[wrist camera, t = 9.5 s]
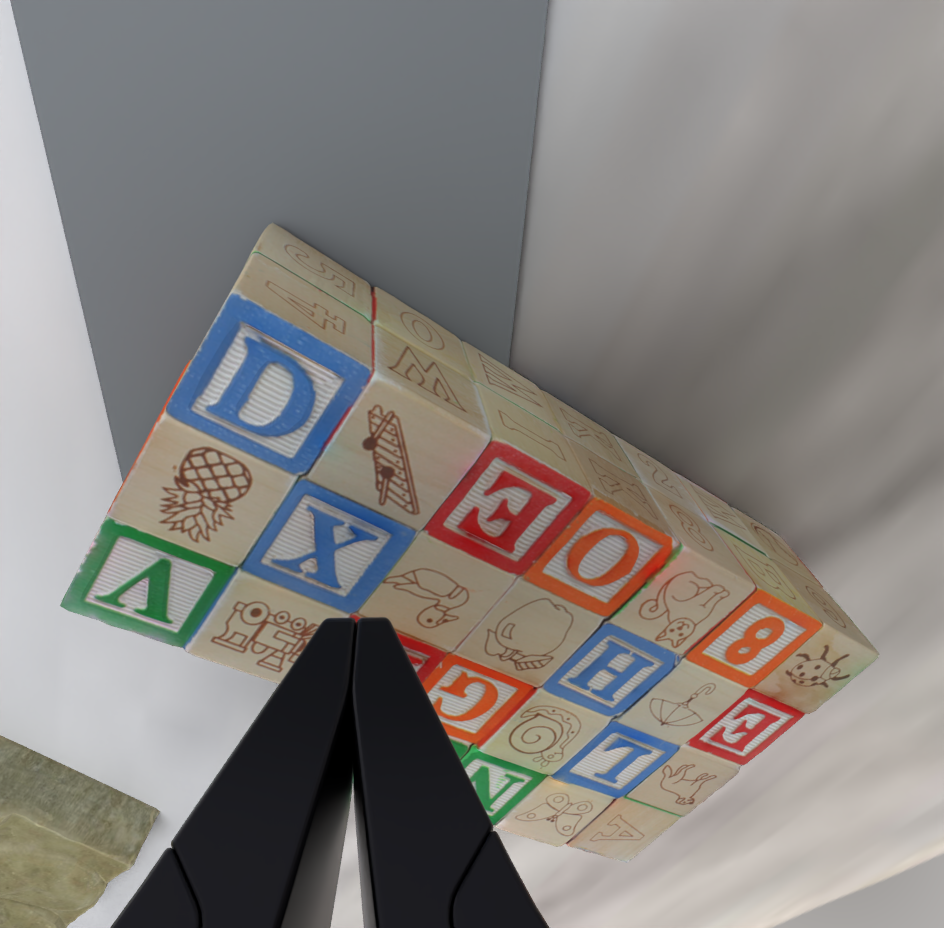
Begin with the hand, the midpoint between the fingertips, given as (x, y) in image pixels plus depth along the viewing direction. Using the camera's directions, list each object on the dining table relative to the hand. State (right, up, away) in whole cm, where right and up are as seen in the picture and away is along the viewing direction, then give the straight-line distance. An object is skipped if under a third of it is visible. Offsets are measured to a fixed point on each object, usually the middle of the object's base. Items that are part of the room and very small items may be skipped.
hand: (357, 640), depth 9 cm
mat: (-3, +7, +11) cm, 13 cm away
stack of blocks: (+5, +3, +10) cm, 12 cm away
